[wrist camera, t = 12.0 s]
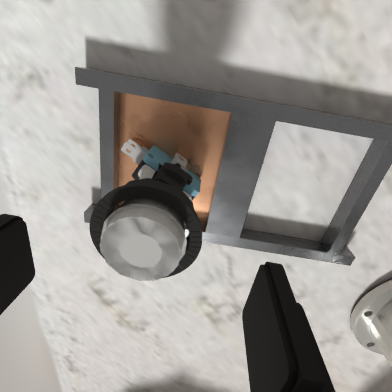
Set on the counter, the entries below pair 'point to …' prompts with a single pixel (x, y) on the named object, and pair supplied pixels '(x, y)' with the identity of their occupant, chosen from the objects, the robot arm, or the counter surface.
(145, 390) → the counter surface
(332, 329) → the counter surface
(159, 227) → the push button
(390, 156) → the rail
